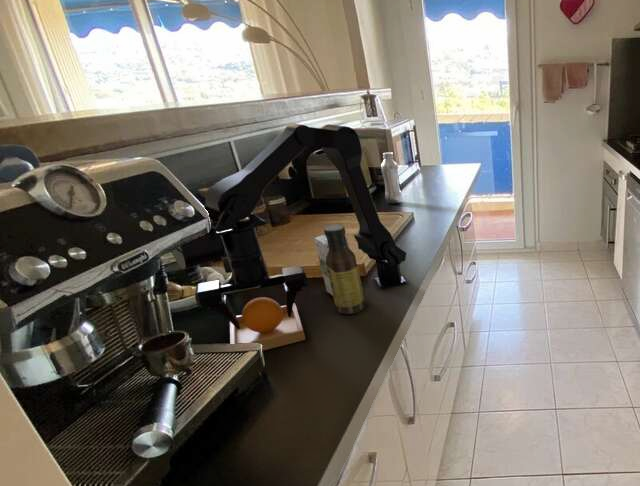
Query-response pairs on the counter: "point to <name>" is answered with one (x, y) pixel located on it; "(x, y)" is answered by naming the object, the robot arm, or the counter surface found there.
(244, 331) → the tray
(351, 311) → the sauce bottle
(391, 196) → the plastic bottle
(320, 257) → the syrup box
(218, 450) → the counter surface
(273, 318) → the orange
